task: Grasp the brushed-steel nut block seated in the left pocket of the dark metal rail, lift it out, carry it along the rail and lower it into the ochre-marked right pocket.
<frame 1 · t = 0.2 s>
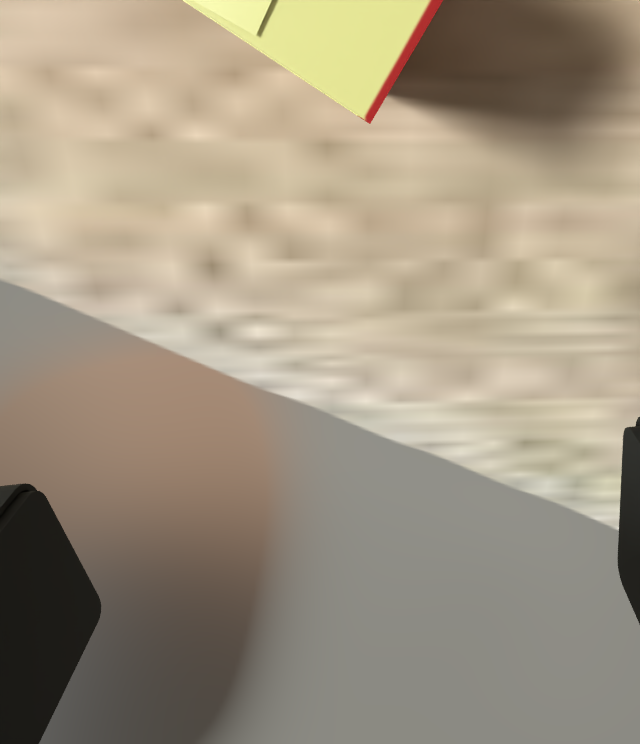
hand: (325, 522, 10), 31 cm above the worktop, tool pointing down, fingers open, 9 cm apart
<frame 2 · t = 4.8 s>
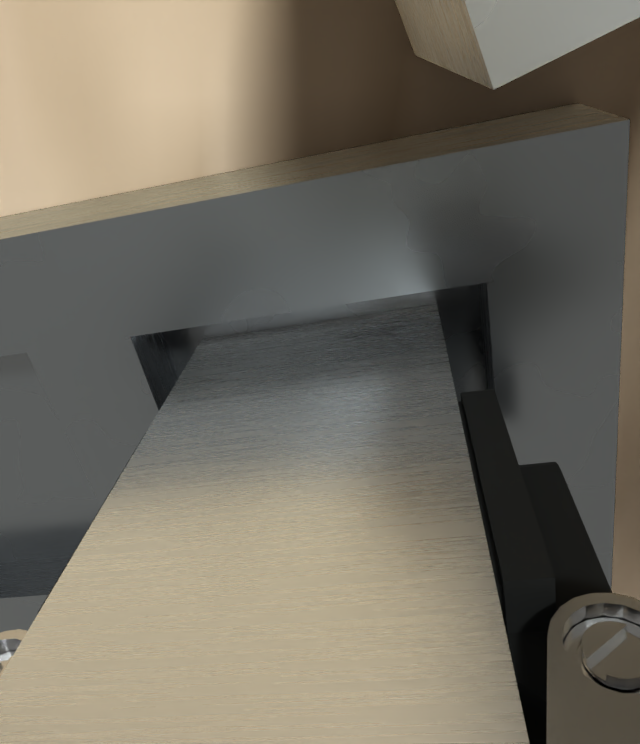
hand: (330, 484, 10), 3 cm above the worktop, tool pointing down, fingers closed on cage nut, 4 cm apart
rail: (19, 432, 15), on the worktop
cage nut: (337, 421, 12), point 1 cm above the worktop, touching gripper, rail
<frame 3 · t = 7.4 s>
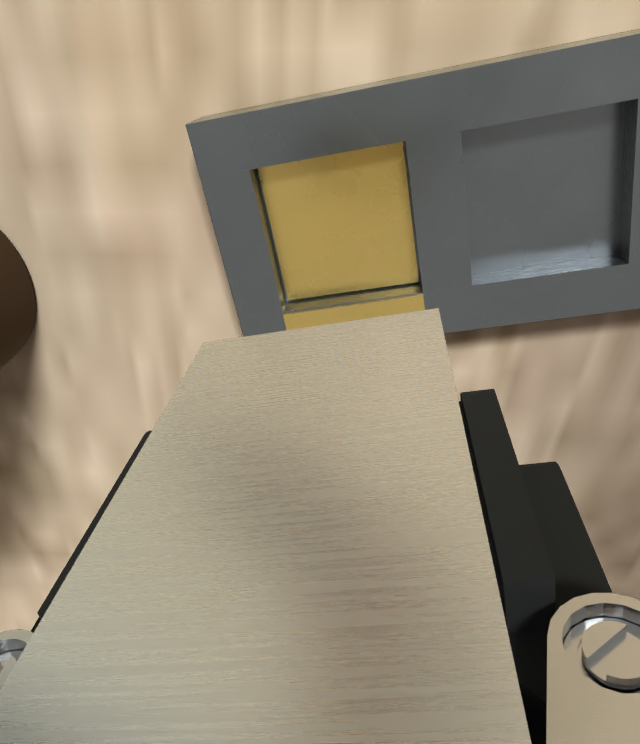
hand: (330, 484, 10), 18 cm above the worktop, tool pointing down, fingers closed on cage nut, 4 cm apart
rail: (534, 186, 25), on the worktop
cage nut: (338, 425, 12), point 16 cm above the worktop, touching gripper
when the fingers open (4 cm above the worktop, at t = 10.2 s): cage nut stays where it is, resting on rail.
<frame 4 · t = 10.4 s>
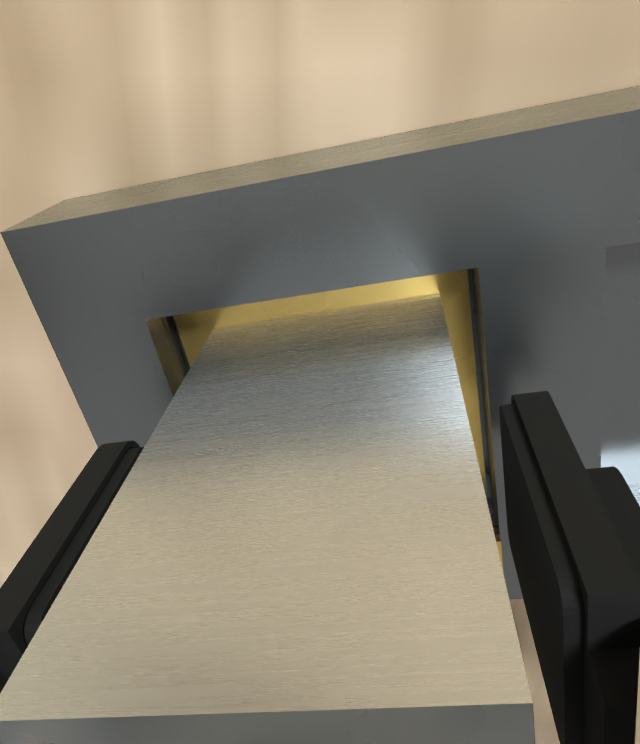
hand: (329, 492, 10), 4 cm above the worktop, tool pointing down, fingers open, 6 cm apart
cage nut: (343, 407, 13), point 1 cm above the worktop, touching rail
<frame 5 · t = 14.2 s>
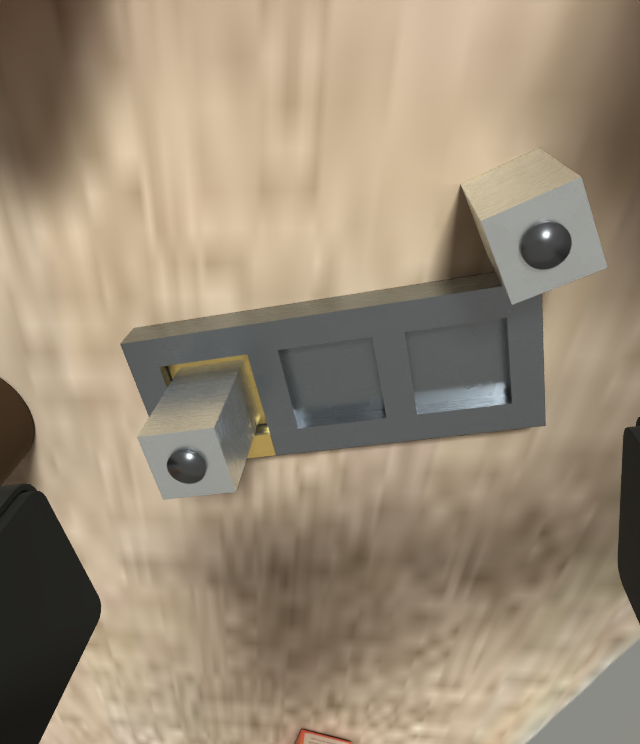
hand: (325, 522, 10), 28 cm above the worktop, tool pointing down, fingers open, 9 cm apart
rail: (335, 367, 41), on the worktop
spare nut: (511, 203, 34), on the worktop
cage nut: (220, 392, 41), point 1 cm above the worktop, touching rail
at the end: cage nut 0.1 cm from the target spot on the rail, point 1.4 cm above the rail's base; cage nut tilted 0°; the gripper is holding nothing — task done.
